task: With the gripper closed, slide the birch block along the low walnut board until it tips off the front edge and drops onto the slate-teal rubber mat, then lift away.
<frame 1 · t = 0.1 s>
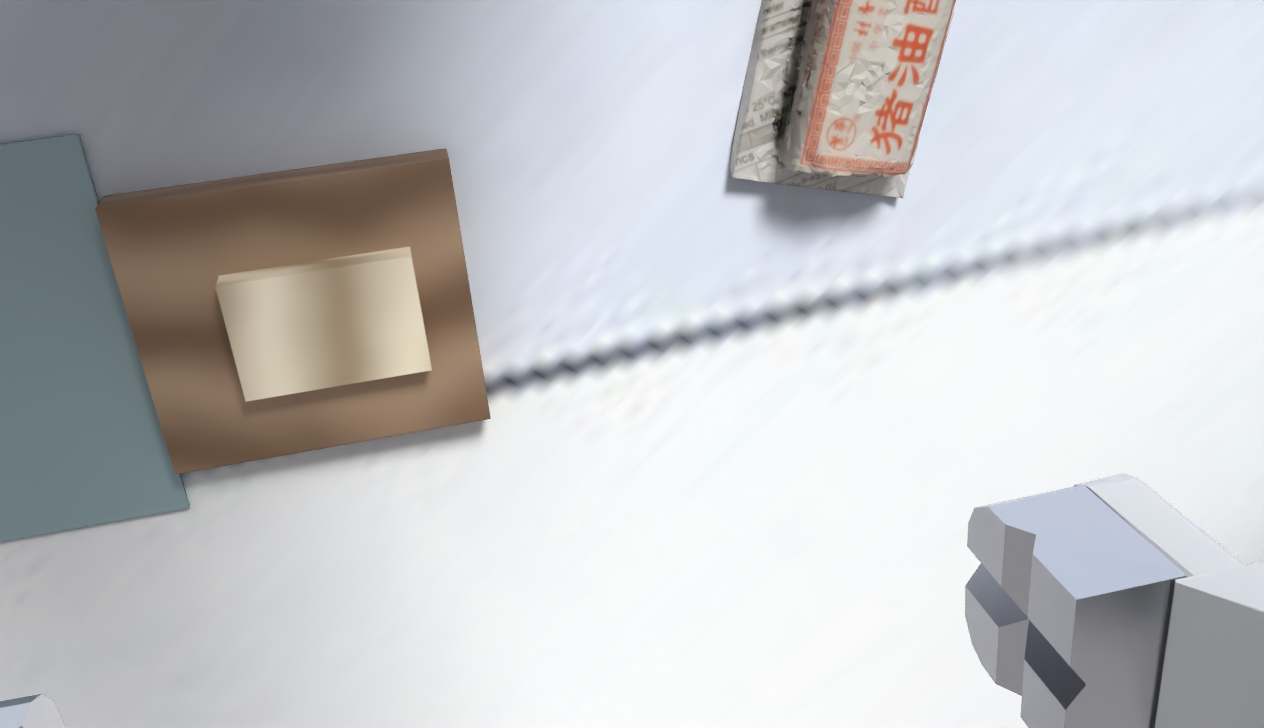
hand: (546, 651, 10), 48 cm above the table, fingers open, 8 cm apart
birch block: (328, 318, 56), point 2 cm above the table, touching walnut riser
packaged product: (849, 10, 58), on the table
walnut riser: (309, 306, 58), on the table
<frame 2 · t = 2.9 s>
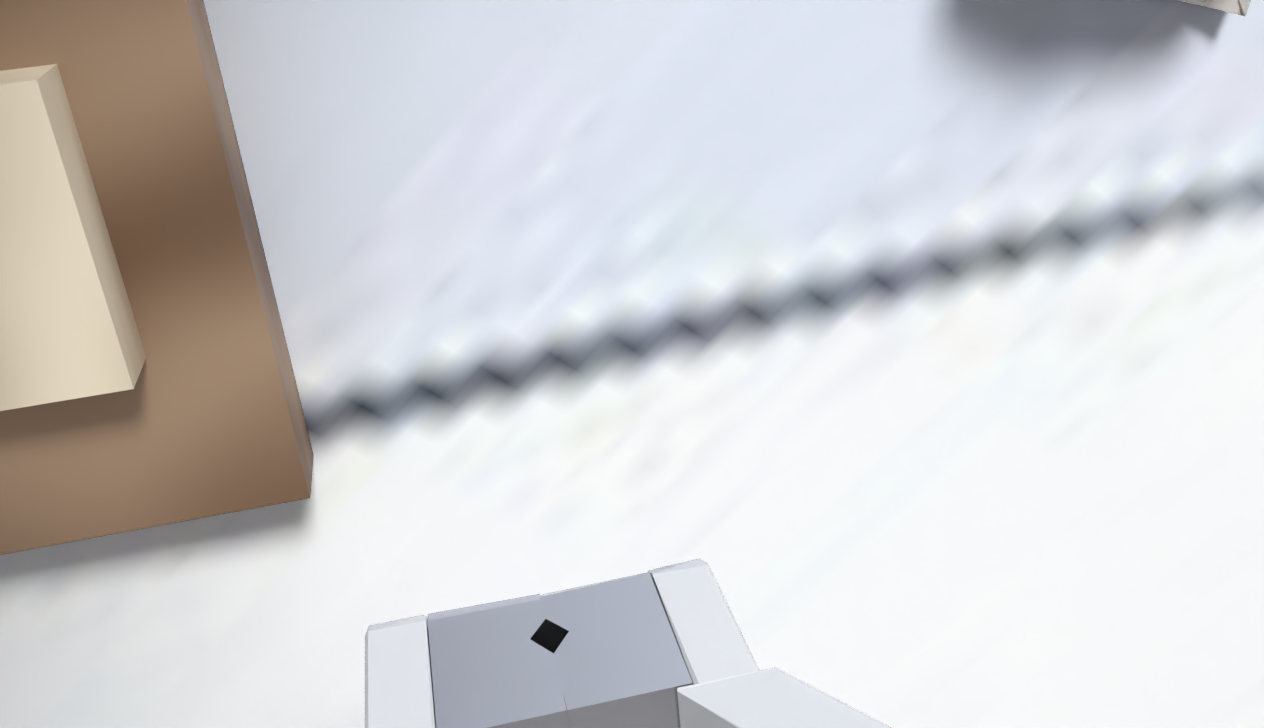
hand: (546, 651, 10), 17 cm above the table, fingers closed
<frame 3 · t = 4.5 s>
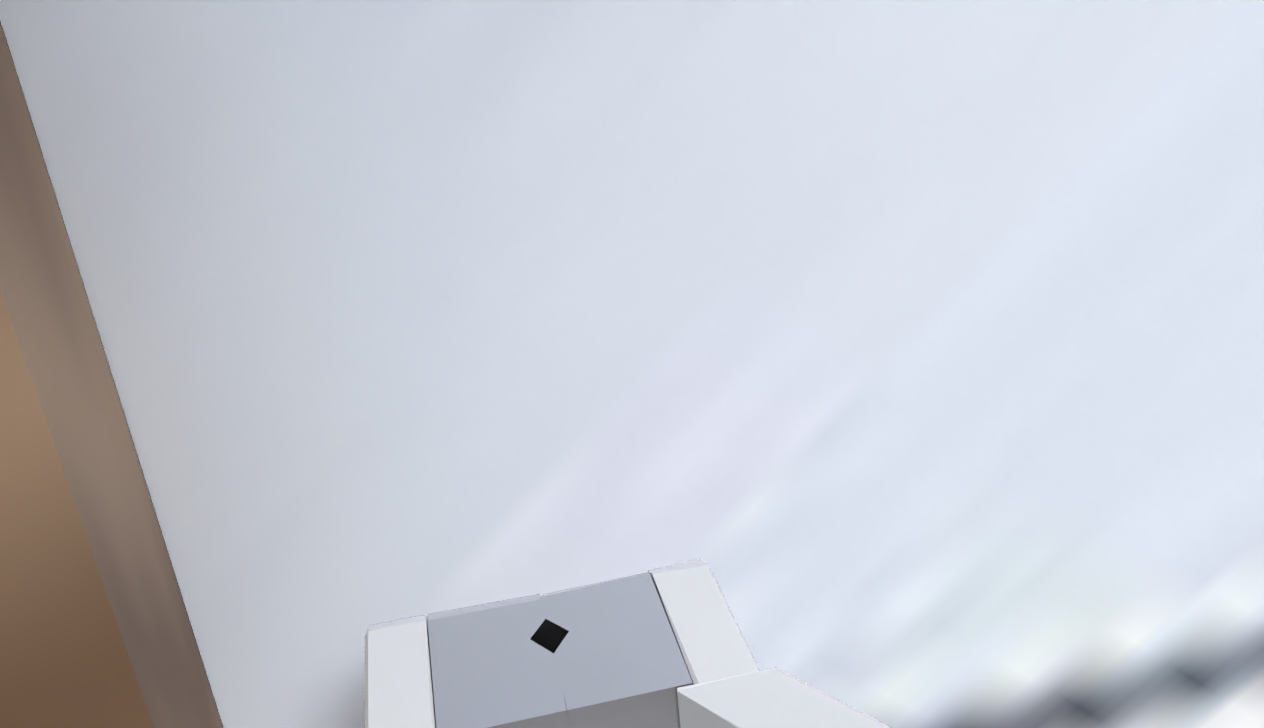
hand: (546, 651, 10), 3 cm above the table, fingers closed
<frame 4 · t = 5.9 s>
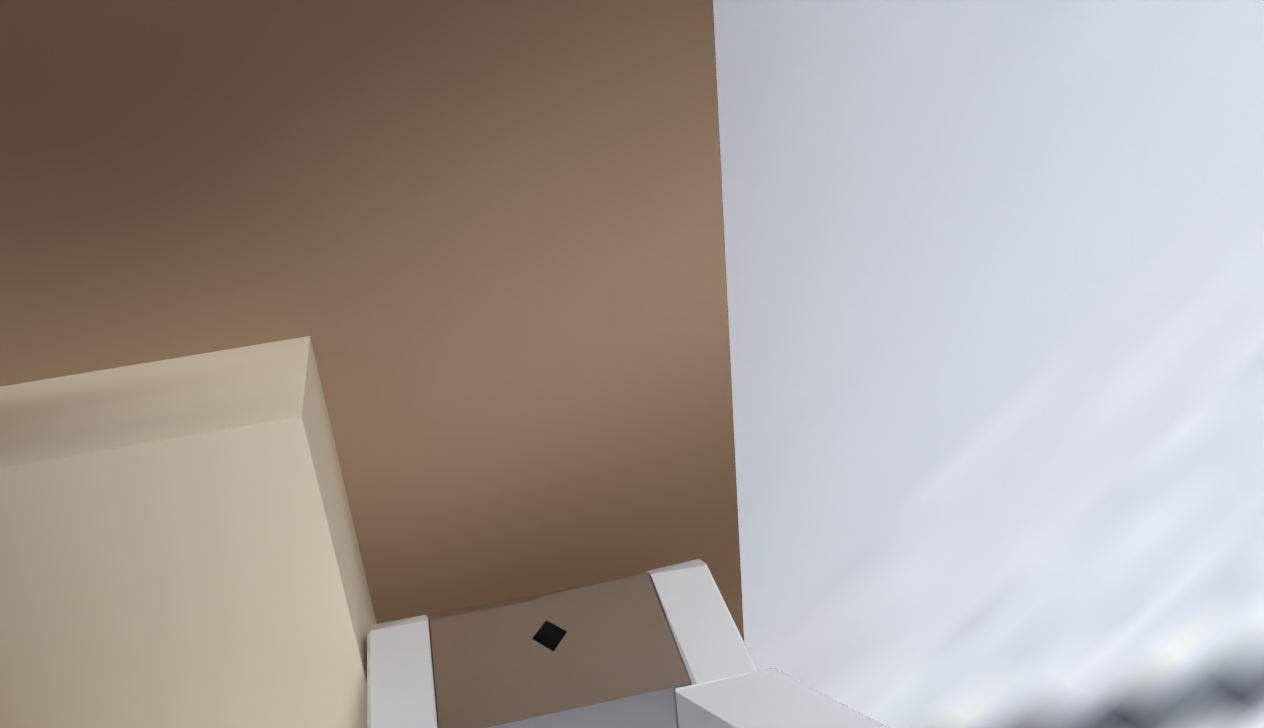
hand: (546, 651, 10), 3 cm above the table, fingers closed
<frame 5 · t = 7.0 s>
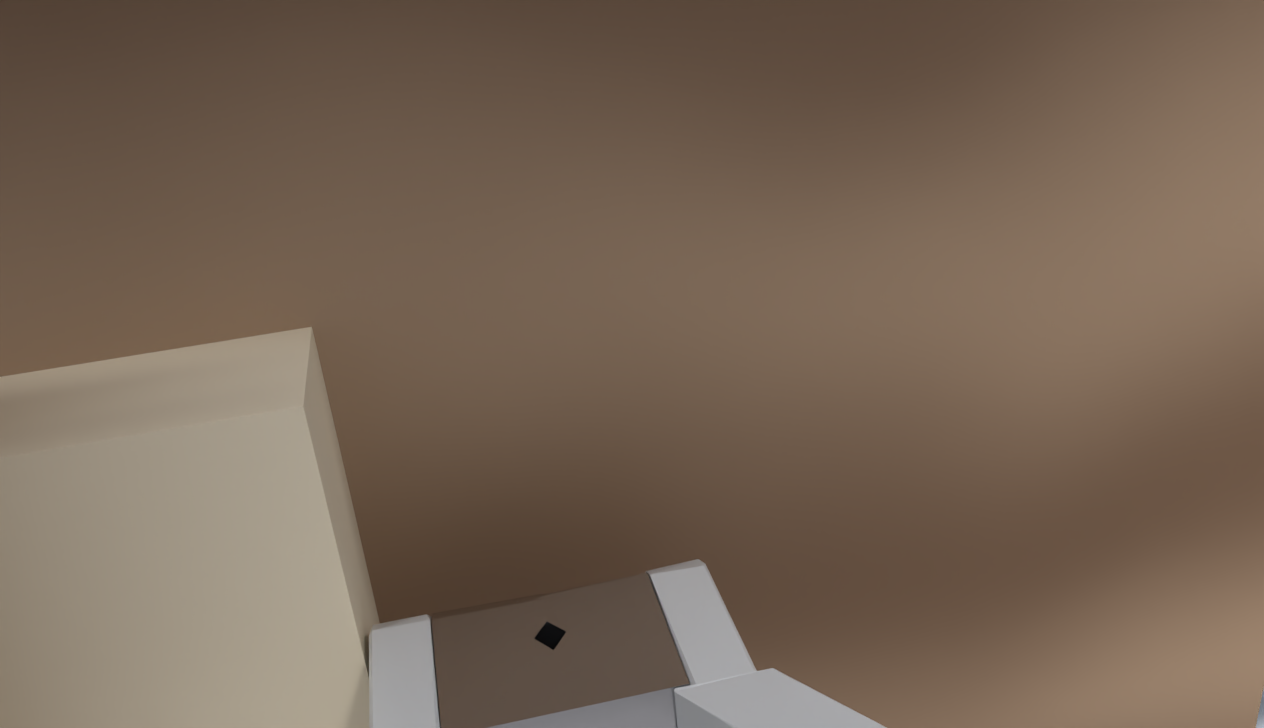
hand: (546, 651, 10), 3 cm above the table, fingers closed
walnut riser: (552, 469, 13), on the table
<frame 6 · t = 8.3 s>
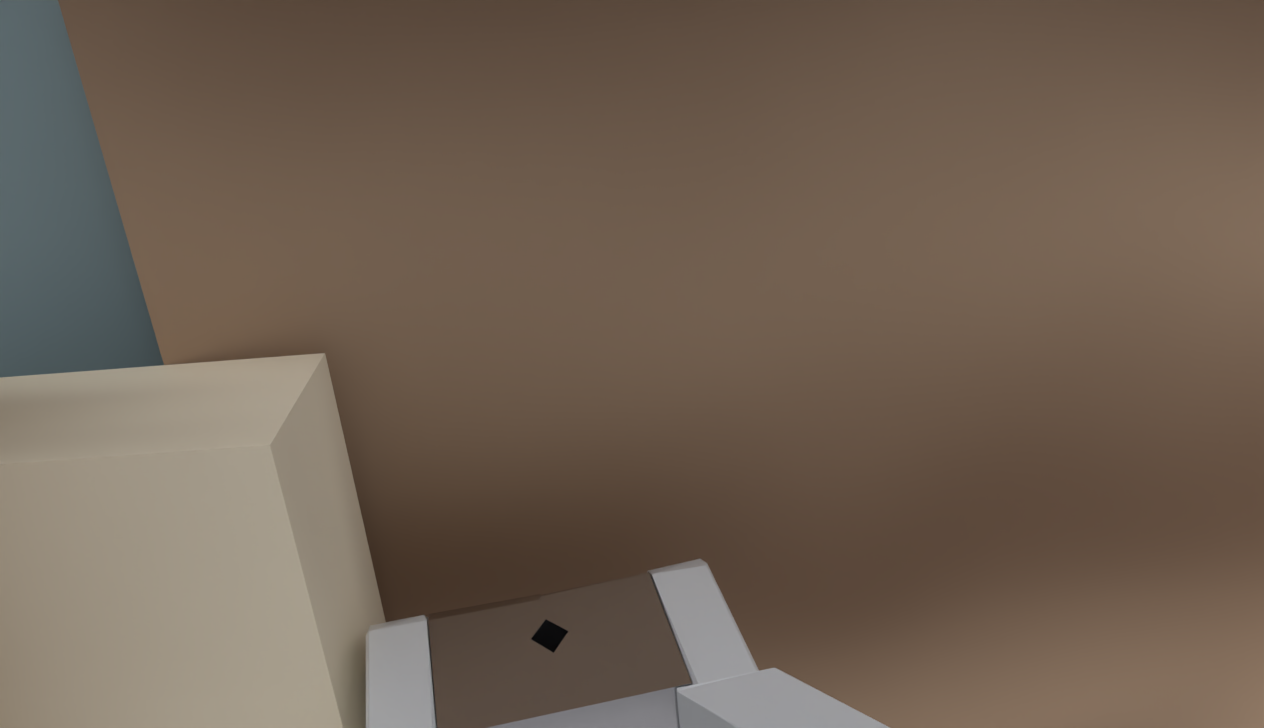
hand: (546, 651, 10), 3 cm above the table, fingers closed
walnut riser: (953, 400, 14), on the table
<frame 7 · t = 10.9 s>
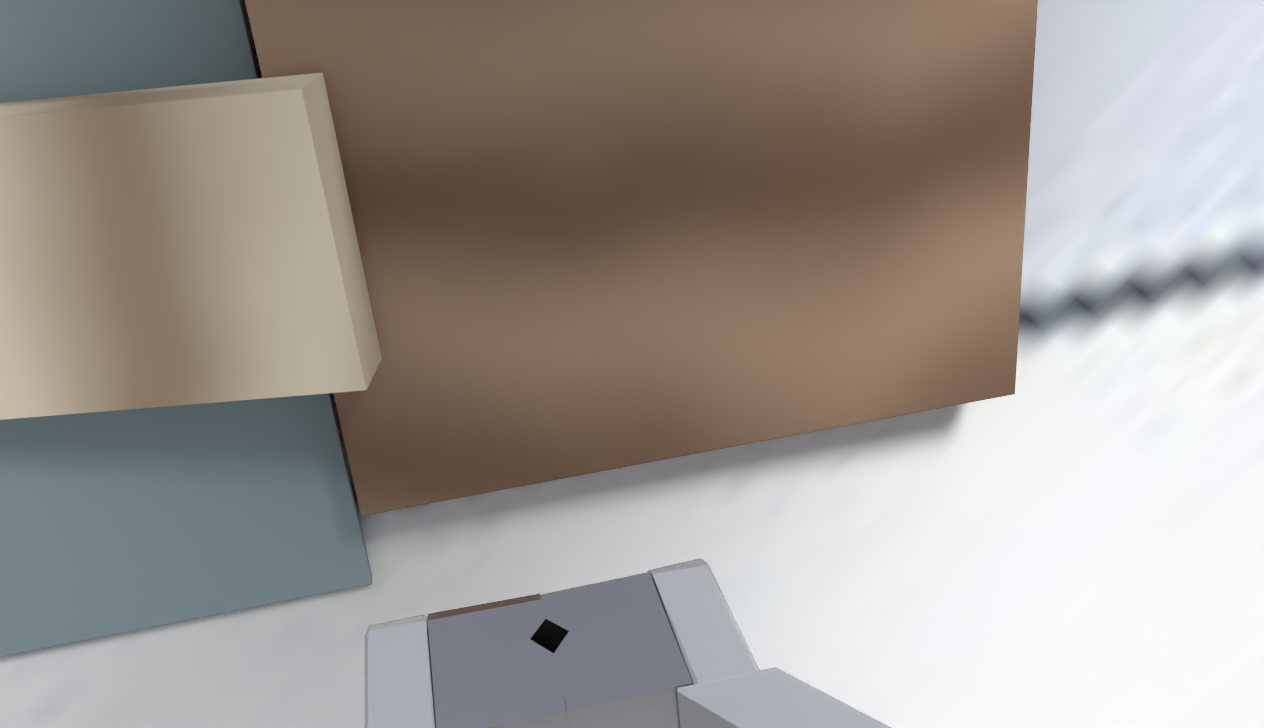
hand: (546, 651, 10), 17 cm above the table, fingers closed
birch block: (135, 242, 23), point 1 cm above the table, tilted 13°, touching rubber mat, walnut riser
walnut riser: (659, 142, 26), on the table
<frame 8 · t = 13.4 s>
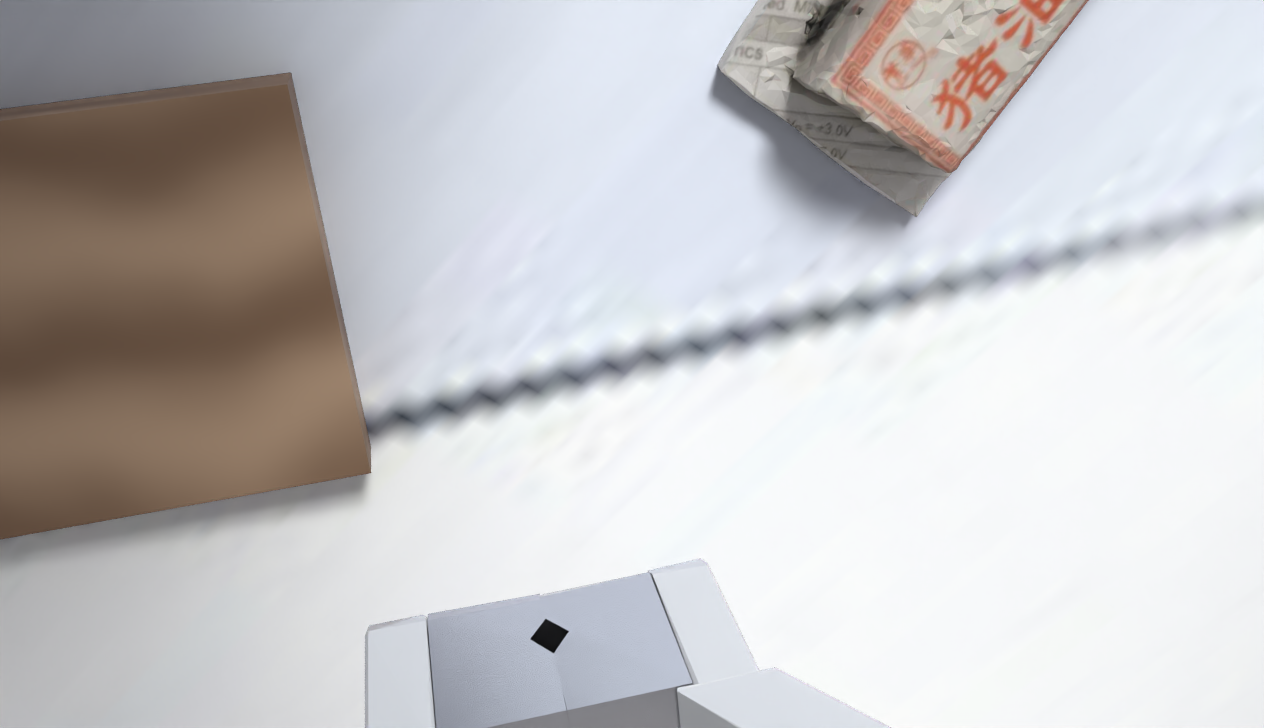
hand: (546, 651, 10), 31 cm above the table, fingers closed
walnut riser: (95, 310, 39), on the table
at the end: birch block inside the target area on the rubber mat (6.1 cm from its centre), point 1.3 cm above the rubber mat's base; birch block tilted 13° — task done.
